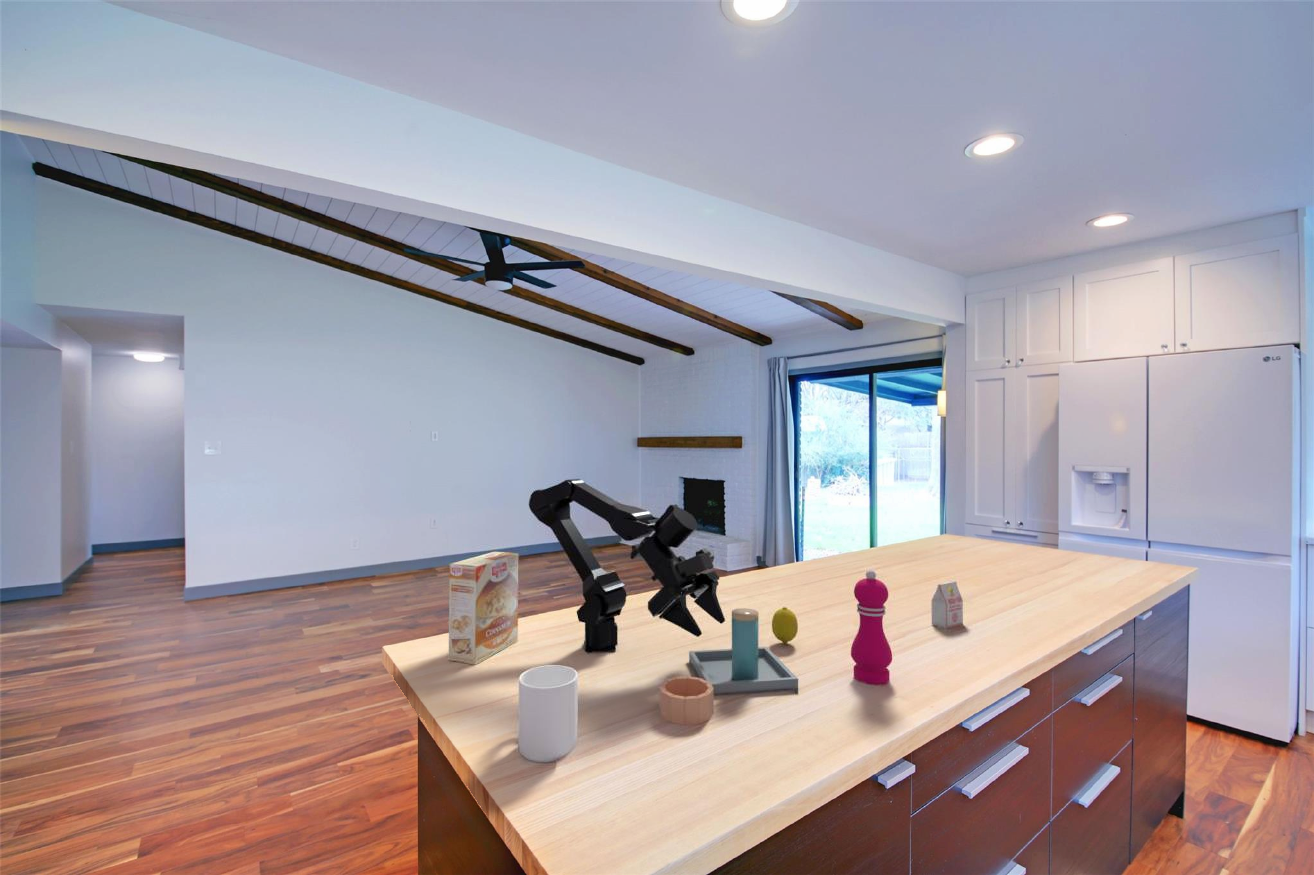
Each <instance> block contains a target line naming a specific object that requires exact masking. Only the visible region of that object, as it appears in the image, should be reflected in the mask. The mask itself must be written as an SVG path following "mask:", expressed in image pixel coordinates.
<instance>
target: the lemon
mask: <svg viewBox="0 0 1314 875" xmlns="http://www.w3.org/2000/svg"><path fill="white" fill-rule="evenodd" d="M798 623H799V622H798V619H797V616H796V614H795V613H794V612H793V611H792V610H791V609H789V608H787V607H786V606H782V608H779V609H777V610H776V611H775V612H774V614H773V616H772V619H771V628H772V630H771V631H772V633H773V635H774V637H775V638H776V639H777V640H778V641H780V642H781V643H782V644H783V643H784V644H783V645H786V644H788V643H789V642H791V641H792V640H794V639H795V637H797V634H798V629H799V628H798V627H799V624H798Z"/></svg>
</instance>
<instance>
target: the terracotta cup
mask: <svg viewBox="0 0 1314 875" xmlns="http://www.w3.org/2000/svg"><path fill="white" fill-rule="evenodd" d="M658 687H659V689H658V690H659V697H658V698H659V705H658V706H659V708H658V709H659V710H658V711H659V714H660V716H661V718H662V719H664V720H666V721H668V722H669V723H673V724H678V725H681V726H682V725H683V726H688V725H689V726H690V725H700V724H702V723H704V722H707V721H709V720H711V718H712V717H713V715H714V713H715V712H714V711H715V710H714V709H715V708H714V702H715V701H714V697H715V696H714V688H713V687H712V685H711V683H710V682H708V681H706V680H704V679H701V678H699V677H698V676H697V677H696V676H689V675H684V676H673V677H671V678H667V679H664V680H663V681H662V682H661V684H660V685H658Z"/></svg>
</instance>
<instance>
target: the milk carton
mask: <svg viewBox="0 0 1314 875" xmlns="http://www.w3.org/2000/svg"><path fill="white" fill-rule="evenodd" d="M963 602H964V599H963V596H962V594H961V592H960V590H959V587H958V585H957V581H953V580H952V581H950V582H949V581H948V582H945V583H940V584H937V587H936V590H935V592H934V594H933V597H932V598H931V625H932V624H933V625H932V626H935V625H937V626H936V627H938V626H940V627H939V628H942V627H944V628H943V629H945V628H946V630H947V629H950V627H951V628H953V627H957V626H958V627H959V626H962V625H964V611H963V609H964V607H963V606H964V605H963V604H964V603H963Z"/></svg>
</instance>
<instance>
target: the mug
mask: <svg viewBox="0 0 1314 875" xmlns="http://www.w3.org/2000/svg"><path fill="white" fill-rule="evenodd" d="M578 676H579V675H578V672H577V671H576V670H575V668H573V667H570V666H565V665H559V664H558V665H557V664H556V665H555V664H549V665H541V666H534V667H532V668H530V669H527V670H525V671H524V672H522V673H521V674H520V675H519V676H518V748H519V752H520V754H521V755H522V756H523V757H524V758H525V759H526V760H528V761H531V762H535V763H541V764H542V763H553V762H557V761H560V758H561V757H564V756H566V755H568V754H570V753H571V752H572V751H574V749H575V748H576V747H577V744H578V720H579V719H578V713H579V712H578V709H579V707H578V702H579V701H578V700H579V699H578V695H579V694H578V693H579V692H578V690H579V686H578V682H579V679H578V678H579V677H578Z"/></svg>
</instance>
